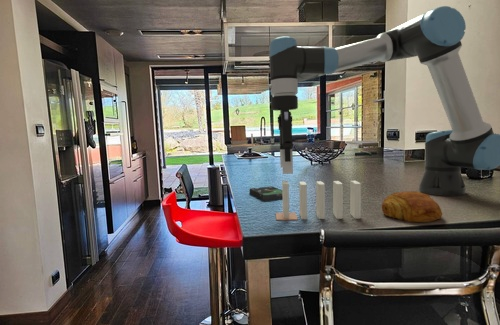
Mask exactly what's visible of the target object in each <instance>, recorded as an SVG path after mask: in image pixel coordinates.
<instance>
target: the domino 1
mask: <svg viewBox="0 0 500 325" xmlns="http://www.w3.org/2000/svg"><path fill="white" fill-rule="evenodd" d="M281 187H282V188H281V190H282V195H283V199H282V213H283V217H284V218H289V213H290V183H289V181H288V180H281Z"/></svg>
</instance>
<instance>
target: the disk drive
mask: <svg viewBox="0 0 500 325" xmlns="http://www.w3.org/2000/svg"><path fill="white" fill-rule="evenodd" d="M249 195H251V196H253V197H254V198H257V199H259V200H261V201H263V202H267V201H268V202H269V201H277V200H283V195H282V189H280V188H277V187H275V186H262V187H258V188H255V187H252V188H249Z"/></svg>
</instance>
